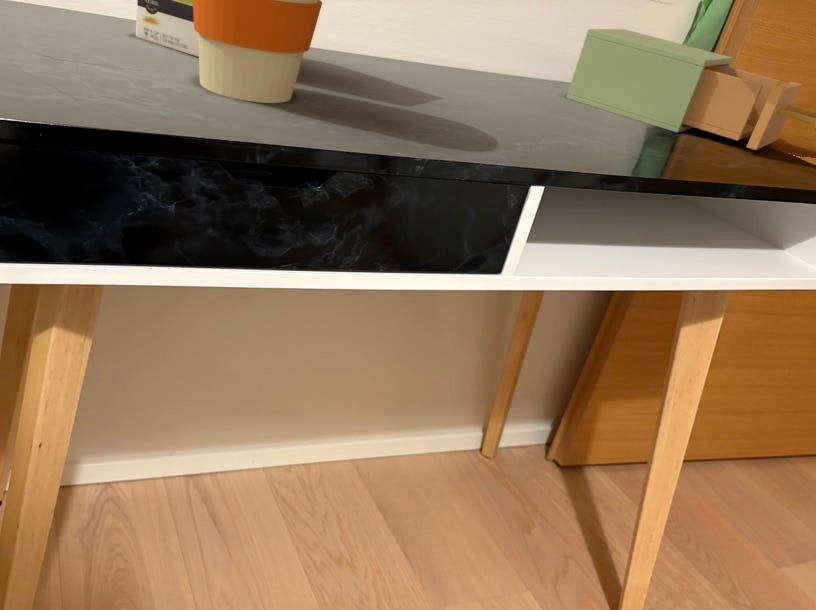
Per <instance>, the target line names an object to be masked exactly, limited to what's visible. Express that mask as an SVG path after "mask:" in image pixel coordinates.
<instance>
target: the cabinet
mask: <svg viewBox="0 0 816 610" xmlns="http://www.w3.org/2000/svg"><path fill="white" fill-rule="evenodd" d="M733 61H734V57H733V56H728V55H724V54H721V53H717V52H714V51H709V50H706V49H702V48H697V47H694V46H689V45H687V44H682V43H679V42H676V41H675V42H674V41H670V40H667V39H663V38H660V37H656V36H652V35H648V34H644V33H642V32H641V33H640V32H636V31H632V30H629V29H625V28H588V29H587V32H586V36H585V37H584V42H583V45H582V48H581V50H580V53H579V57H578V60H577V63H576V67H575V70H574V73H573V75H572V79H571V81H570V85H569V88H568V91H567V95H566V99H570V100H572V101H576V102H579V103H582V104H586V105H587V106H592V107H595V108H598V109H601V110H604V111H607V112H611V113H615V114H617V115H621V116H624V117H627V118H630V119H633V120H636V121H639V122H643V123H646V124H648V125H652V126H656V127H658V128H661V129H665V130H668V131H671V132H674V133H676V134H677V133H681V132H684V131H688V130H691V129H693V128H694V127H691V126H688V125H684V124H683V121H684V119H685V116H686V114H687V111H688V109H689V106H690V104H691V101H692V99H693V96H694V94H695V91H696V89H697V86H698V84H699V81H700V79H701V76H702V74H703V71H704V69H705V67H707V66H716V65H723V66H727V67H731V65H732V62H733Z"/></svg>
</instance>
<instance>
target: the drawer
mask: <svg viewBox="0 0 816 610" xmlns="http://www.w3.org/2000/svg"><path fill="white" fill-rule="evenodd" d="M780 83H781V80H779V79H775V78H773V77H767V76H764V75H760V74H756V73H753V72H749V71H745V70H742V69H738V68H734V67H731V66H730V67H727V66H723V65H716V66H707V67H705V69H704V71H703V74H702V76H701V79H700V81H699V84H698V86H697V89H696V91H695V94H694V96H693V99H692V101H691V104H690V106H689V109H688V111H687V114H686V116H685V119H684V121H683V124H684V125H688V126H691V127H694V128H695V129H697V130H701V131H703V132H704V131H705V132H708V133H711V134H714V135H717V136H720V137H724V138H727V139H730V140H734V141H736V142H738V141H740V140H743V139H745V138H748V137H750V138H749V139H748V143H747V144H746V148H747V149H750V150H754V151H757V150H759V149H762V148H763V147H766V146H768V145H770V144H771V143H773V142H776V141H777V140H778V138H779V137H780V134H781V132H782V130H783V127H784V125H785V123H786V121H787V118H791V119H795V120H798V121H802V122H805V123H809V124H811V125H812V124H813V126H812V127H813V128H814V129H815V130H816V111H812V110H808V109H805V108H801V107H798V106H795V105H794V104H795V103H796V102H795V101H796V99H797V97H798V95H799V93H800V91H801V88H802V86H803V84H802V83H799V82H795V81H791V82H787V83H783V84H780Z"/></svg>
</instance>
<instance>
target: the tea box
mask: <svg viewBox="0 0 816 610" xmlns="http://www.w3.org/2000/svg"><path fill="white" fill-rule="evenodd" d="M136 3H137V4H136V22H135V23H136V24H135V37H136V38H139V39H142V40H144V41H148V42H151V43H154V44H156V45H159V46H162V47H165V48H169V49H172V50H174V51H178V52H181V53H184V54H187V55H191V56H192V57H193V56H194V57H197V58H199V35H198V32H197V31H195V29H194V14H193V0H137V1H136Z"/></svg>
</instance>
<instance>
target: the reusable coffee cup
mask: <svg viewBox="0 0 816 610" xmlns="http://www.w3.org/2000/svg"><path fill="white" fill-rule="evenodd" d="M322 1H323V0H193V14H194V29H195V31H197V32H198V35H199V57H198V69H199V84H200V85H201V87H203V88H204V89H205V90H207V91H209V92H211V93H214V94H217V95H220V96H224V97H227V98H231V99H235V100H239V101H246V102H252V103H262V104H278V103H279V104H281V103H286V102H289V101H290V100H291V99H292V97H293V94H294V93H293V92H294V89H295V85H296V82H297V78H298V75H299V71H300V67H301V64H302V60H303V57H304V54H305V53H306V52H308V51H310V48H311V45H312V40H313V36H314V34H315V31H316V27H317V24H318V20H319V17H320V13H321V9H322V6H323V2H322Z"/></svg>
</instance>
